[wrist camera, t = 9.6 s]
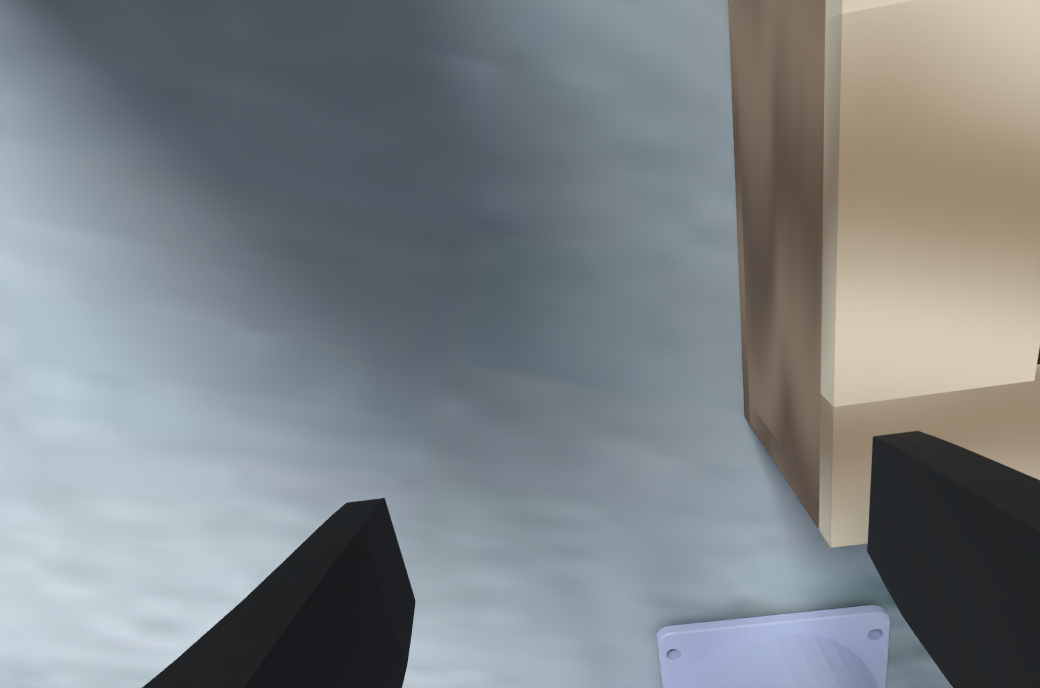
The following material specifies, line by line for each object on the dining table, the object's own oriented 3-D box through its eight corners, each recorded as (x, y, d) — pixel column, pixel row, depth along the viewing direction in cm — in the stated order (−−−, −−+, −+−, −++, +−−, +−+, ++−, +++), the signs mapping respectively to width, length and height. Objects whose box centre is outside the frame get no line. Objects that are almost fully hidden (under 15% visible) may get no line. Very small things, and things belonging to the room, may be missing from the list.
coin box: (1124, 366, 18) (1389, 485, 12) (744, 416, 19) (830, 547, 13) (1251, -232, 13) (1797, -490, 7) (723, -122, 14) (848, -274, 8)
